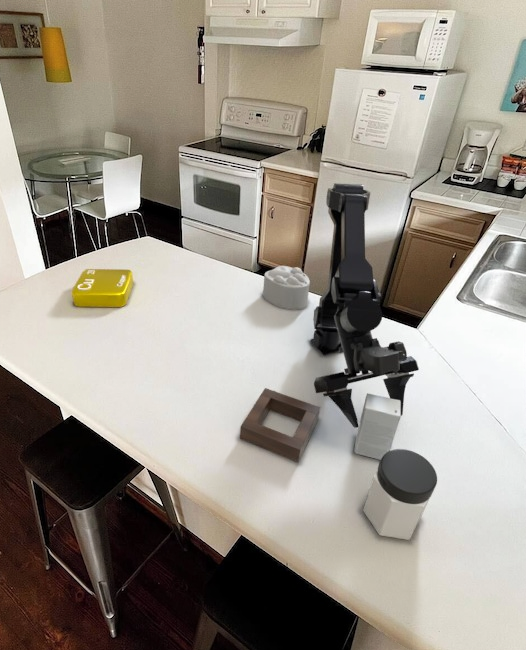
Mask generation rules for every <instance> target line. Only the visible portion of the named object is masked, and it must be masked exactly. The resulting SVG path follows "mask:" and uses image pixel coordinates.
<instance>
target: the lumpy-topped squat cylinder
mask: <svg viewBox="0 0 526 650" xmlns="http://www.w3.org/2000/svg"><path fill="white" fill-rule="evenodd" d="M310 284H311V281H310V278H309V276H308V275H307V274H306V273H304V272H303V270H302V269H301V268H300V267H297V266H296V267H291V266H287V265H279V266H276V267H275V268H273V269H270V270H268V271H265V273H264V277H263V289H262V290H263V291H262V297H263V299H264V300H266V301H267V302H268V303H270V304H272V305H273V306H276V307H278V308H281V309H285V310H292V311H293V310H294V311H295V310H302V309H305V308H306V307H307V306H308V299H309V293H310Z"/></svg>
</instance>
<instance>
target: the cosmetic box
mask: <svg viewBox="0 0 526 650" xmlns="http://www.w3.org/2000/svg"><path fill="white" fill-rule="evenodd" d="M362 407H363V408H362V411H361V416H360V420H359V423H358V428H357V432H356V436H355V442H354V444H355V445H354V450H353V453H354V454H356V455H360V456H364V457H367V458H372V459H376V460H379V461H380V460H381V459H382V457H383V455H384V454H385V453H387V452H388V451H391V449H392V445H393V442H394V440H395V436H396V432H397V430H398V426H399V423H400V420H401V417H402V416H401V401H400V400H396V399H391V398H390V397H386V396H381V395H377V394H372V393H368V392H367V393H366V395H365V400H364V403H363V406H362Z"/></svg>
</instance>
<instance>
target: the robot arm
mask: <svg viewBox="0 0 526 650" xmlns="http://www.w3.org/2000/svg"><path fill="white" fill-rule="evenodd" d="M326 191H327V192H326V206H327V209H328V210H327V213H328V215H329V217H330V220H331V222H332V224H333V230H332V231H333V232H332V240H331V241H332V242H331V250H330V251H331V252H330V261H329V272H328V281H327V288H326V290H325V291H324V292H323V294H322V295H321V296H320V297H319V304H318V306H316V307H315V308H314V309H313V318H312V320H313V329H314V332H313V337H312V338H311V339H310V341H309V342H310V343H311V344H312V345H313V346H314V347H315V348H316V349H317V351H319V353H320V354H321V355H322V356H328V355H332V354H335V353H338V352H339V353H340V354H341V353H343V357H344V360H345V365H346V368H344V369H343V370H344V371H340V372H336V373H330V374H326V375H322V376H318V377H315V379H314V382H313V387H314V391H315V393H316V394H320V393H321V394H322V395H323V397H328V398H329V399H330V400H331V401H332V402H333V403H334V404H335V405H336V406H337V408H338V409H339V410H340V412H342V414H343V415H344V417H345V418H346V419H347V421H348V422H349V423H350V424H351V426H352V427H353V428H354V429H358V428H359V422H358V417H357V413H356V410H355V407H354V403H353V400H352V392H353V388H348V385H349V384H353V383H358V382H361V381H365V380H370V379H374V378H377V377H382V376H386V377H385V378H383V379H382V380H383V383H384V386H385V388H386V391H387V395H388V398H391V399H396V400H400V401H401V417H402V416H403V414H404V403H405V392H406V386H407V384H408V382H409V380H410V379H411V378H413V377H414V376H415V373H413V372H417V371H420V367H419V364H418V361H417V360H416V359H415V358H414V357H413V356H412V355H409V356H408V354H407V353H408V352H407V349H406V347H405V344H404V342H403V341H394V342H390V343H389V344H388V346H381V344H380V341H379V340H378V338H377V337H375V338H373V335H372V331H374V330H375V329H376V328H378V326H379V325H380V324H381V322H382V320H383V311H382V308H381V306H380V303H381V301H382V294H381V291H380V289H379V286H378V284H377V281H376V279H375V278H374V272H373V271H374V270H373V266H372V265H371V263H370V262H369V261H368V259H367V258H366V225H365V223H366V222H365V221H366V220H365V218H366V217H365V216H366V215H365V213H366V212H367V211H368V209H369V204H370V199H371V198H370V197H371V191H370V190H368V189H364V184H361V183H360V184H359V183H339V182H338V183H336V182H335V183H333V186H332V188H327V190H326Z"/></svg>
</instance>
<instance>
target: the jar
mask: <svg viewBox="0 0 526 650" xmlns="http://www.w3.org/2000/svg"><path fill="white" fill-rule="evenodd" d="M437 484H438V475H437V471H436V469H435V468H434V466H433V465H432V463H431V462H430V461H429V460H427V458H426V457H424V456H422V455H421V454H419V453H417V452H416V451H413V450H411V449H410V450H409V449H405V448H394V449H390V451H388V452H387V453H385V454H384V455H383V457H382V459H381V460H379V463H378V466H377V471H376V473H375V474H374V476H373V478H372V481H371V484H370V488H369V491H368V493H367V497H366V501H365V504H364V505H363V506H364V507H363V509H362V510H363V513H364V514H365V516H366V517H367V519H368V520H369V522H370V523H371V525H372V526H373V528H374V529H375V531H376V533H378V535H379V536H383V537H389V538H393V539H398V540H399V539H400V540H404V541H405V540H406V541H409V540H411V538H412V536H413V534H414V532H415V530H416V528H417V527H418V524H419V523H420V520H421V518H422V516H423V514H424V512H425V510H426V507H427V505H428V503H429V501H430V499H431V498H432V495H433V493H434V491H435V488H436V486H437Z"/></svg>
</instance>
